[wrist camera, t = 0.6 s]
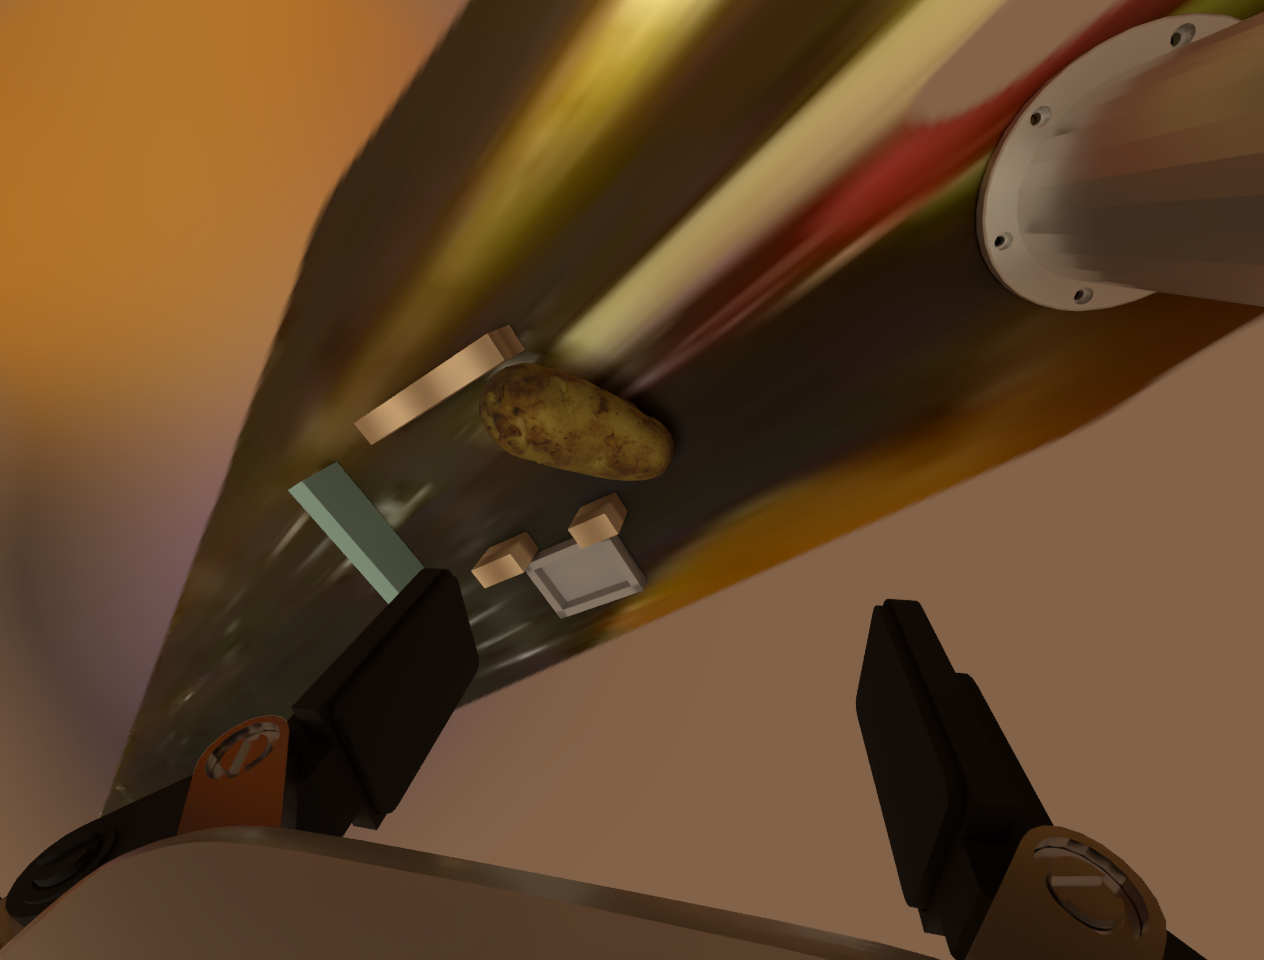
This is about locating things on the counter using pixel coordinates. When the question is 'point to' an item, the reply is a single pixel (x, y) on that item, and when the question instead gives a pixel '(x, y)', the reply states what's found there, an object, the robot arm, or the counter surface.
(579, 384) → the potato
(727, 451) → the counter surface
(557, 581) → the grey tray
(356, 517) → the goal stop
